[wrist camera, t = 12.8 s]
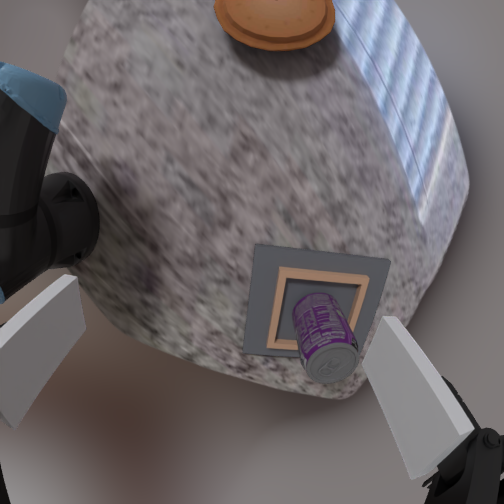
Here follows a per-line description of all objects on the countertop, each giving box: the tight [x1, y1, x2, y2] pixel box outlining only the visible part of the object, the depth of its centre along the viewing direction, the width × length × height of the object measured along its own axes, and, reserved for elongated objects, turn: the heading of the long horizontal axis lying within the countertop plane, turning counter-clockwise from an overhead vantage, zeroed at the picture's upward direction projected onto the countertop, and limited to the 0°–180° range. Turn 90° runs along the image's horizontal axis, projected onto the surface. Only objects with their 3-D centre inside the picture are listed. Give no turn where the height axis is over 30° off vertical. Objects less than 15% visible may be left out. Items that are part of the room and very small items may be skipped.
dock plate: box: [243, 244, 391, 357], centre depth 39 cm, size 20×18×2 cm
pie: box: [214, 0, 335, 51], centre depth 24 cm, size 16×16×5 cm
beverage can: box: [292, 293, 359, 384], centre depth 33 cm, size 7×7×12 cm
